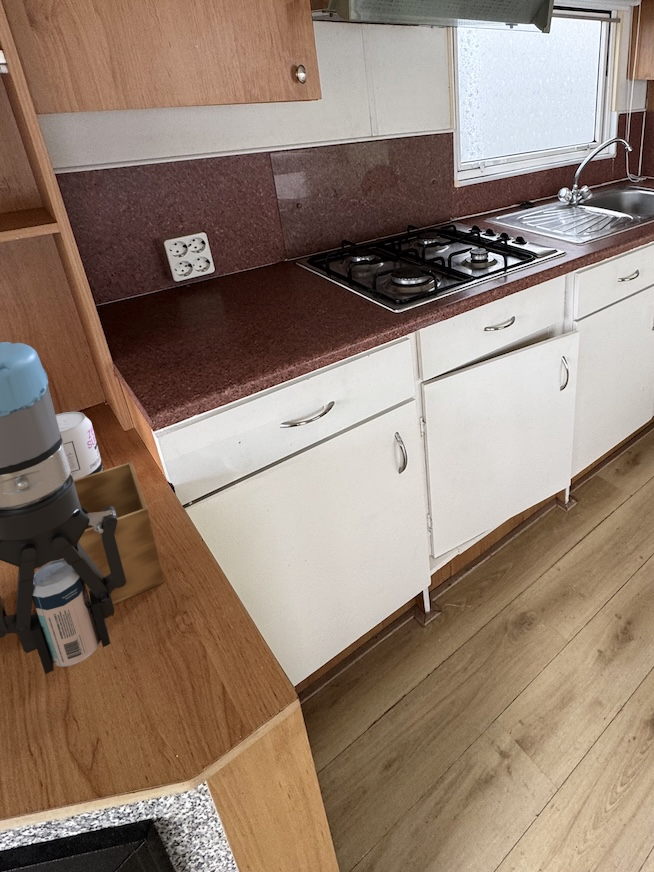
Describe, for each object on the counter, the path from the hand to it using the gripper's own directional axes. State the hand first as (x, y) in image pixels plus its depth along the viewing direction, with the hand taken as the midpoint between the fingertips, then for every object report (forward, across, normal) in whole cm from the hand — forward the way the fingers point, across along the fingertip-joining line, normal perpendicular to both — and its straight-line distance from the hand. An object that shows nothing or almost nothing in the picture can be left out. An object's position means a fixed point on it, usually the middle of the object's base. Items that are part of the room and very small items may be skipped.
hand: (77, 649), depth 68 cm
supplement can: (+8, +2, +45) cm, 45 cm away
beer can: (0, 0, 0) cm, 0 cm away
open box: (+8, +4, +20) cm, 22 cm away
